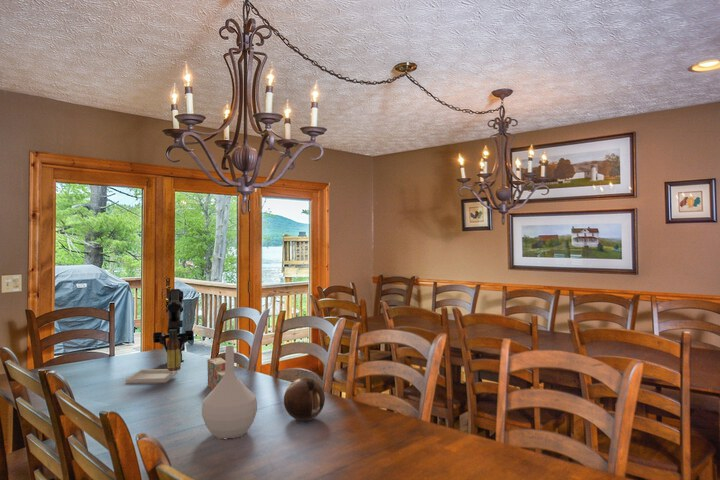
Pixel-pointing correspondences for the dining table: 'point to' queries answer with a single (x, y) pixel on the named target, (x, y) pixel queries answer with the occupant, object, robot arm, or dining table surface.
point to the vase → (229, 404)
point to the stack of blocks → (215, 371)
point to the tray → (151, 376)
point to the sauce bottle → (173, 351)
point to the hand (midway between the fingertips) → (173, 350)
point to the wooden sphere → (304, 399)
